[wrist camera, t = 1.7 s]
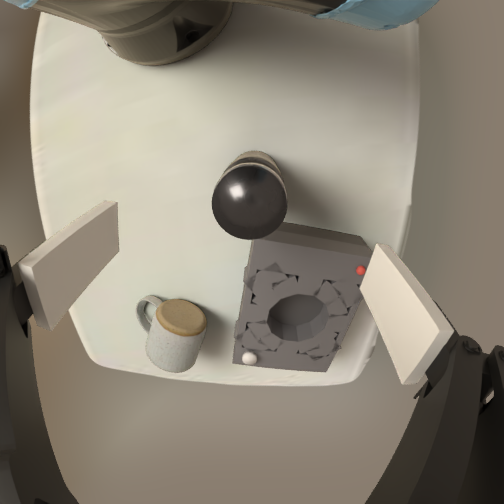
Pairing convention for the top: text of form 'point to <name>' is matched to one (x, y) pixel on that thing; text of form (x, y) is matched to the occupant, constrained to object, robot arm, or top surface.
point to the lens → (250, 197)
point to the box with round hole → (299, 297)
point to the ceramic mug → (172, 333)
